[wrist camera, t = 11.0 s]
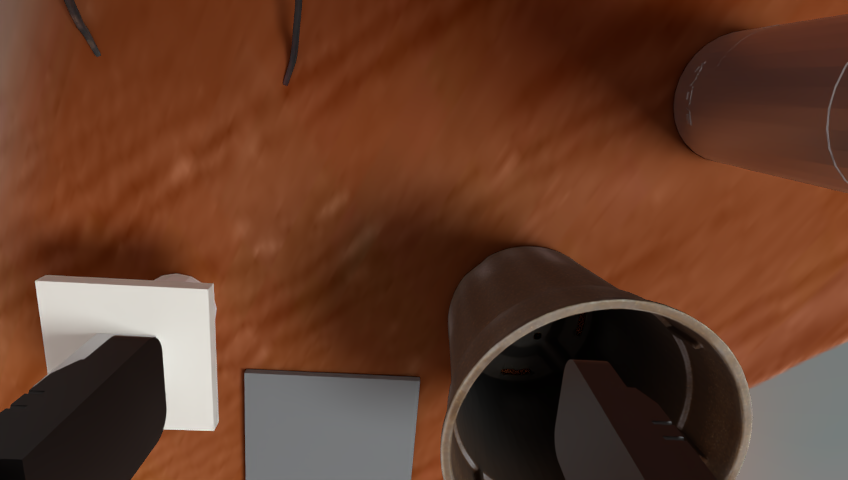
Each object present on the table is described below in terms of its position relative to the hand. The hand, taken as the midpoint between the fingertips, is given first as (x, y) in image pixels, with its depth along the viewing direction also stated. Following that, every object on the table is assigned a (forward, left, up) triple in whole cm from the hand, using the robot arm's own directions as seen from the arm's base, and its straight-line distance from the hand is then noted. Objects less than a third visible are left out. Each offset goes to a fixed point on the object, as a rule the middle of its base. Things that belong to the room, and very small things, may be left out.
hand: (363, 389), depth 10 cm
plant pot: (-12, +11, -29) cm, 33 cm away
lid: (+15, +12, -22) cm, 29 cm away
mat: (+3, +24, -29) cm, 38 cm away
